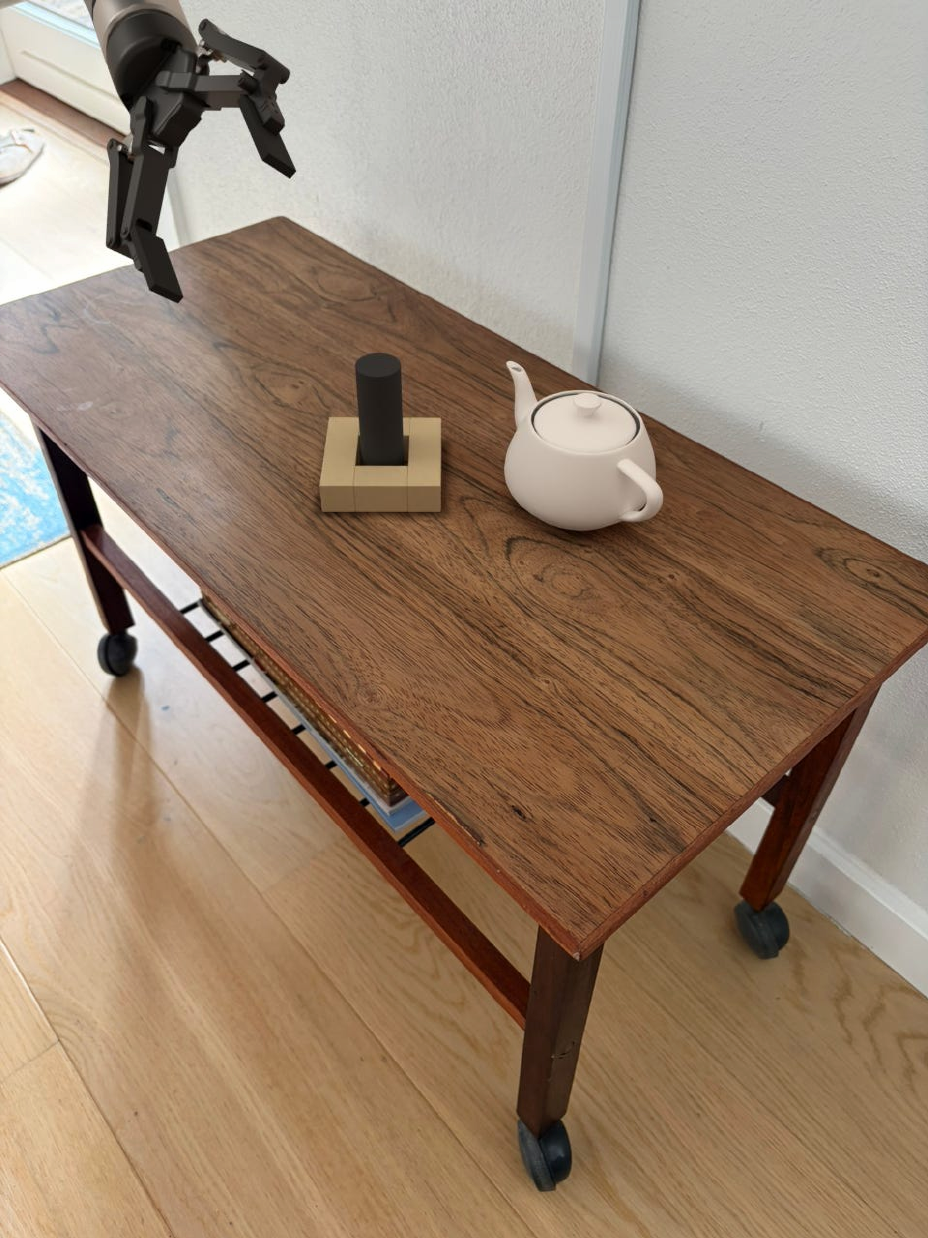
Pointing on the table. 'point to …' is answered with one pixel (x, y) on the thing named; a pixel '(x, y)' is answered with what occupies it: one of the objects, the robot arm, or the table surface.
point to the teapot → (580, 458)
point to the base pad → (381, 470)
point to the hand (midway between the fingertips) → (220, 232)
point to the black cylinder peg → (380, 409)
